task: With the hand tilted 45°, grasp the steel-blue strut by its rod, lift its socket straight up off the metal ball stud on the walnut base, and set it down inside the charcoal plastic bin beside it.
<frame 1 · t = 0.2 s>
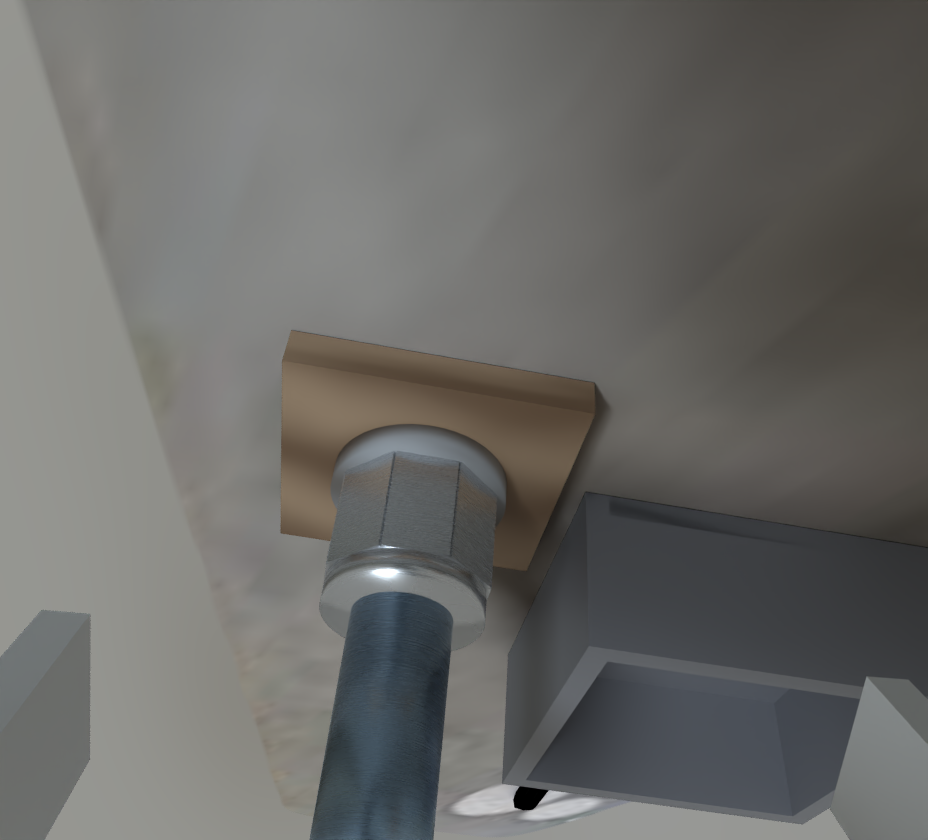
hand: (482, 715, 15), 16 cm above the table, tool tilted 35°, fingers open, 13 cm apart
bin: (698, 609, 43), on the table
pen: (540, 762, 62), on the table
strut: (417, 500, 33), point 2 cm above the table, touching stud base
stud base: (424, 450, 35), on the table
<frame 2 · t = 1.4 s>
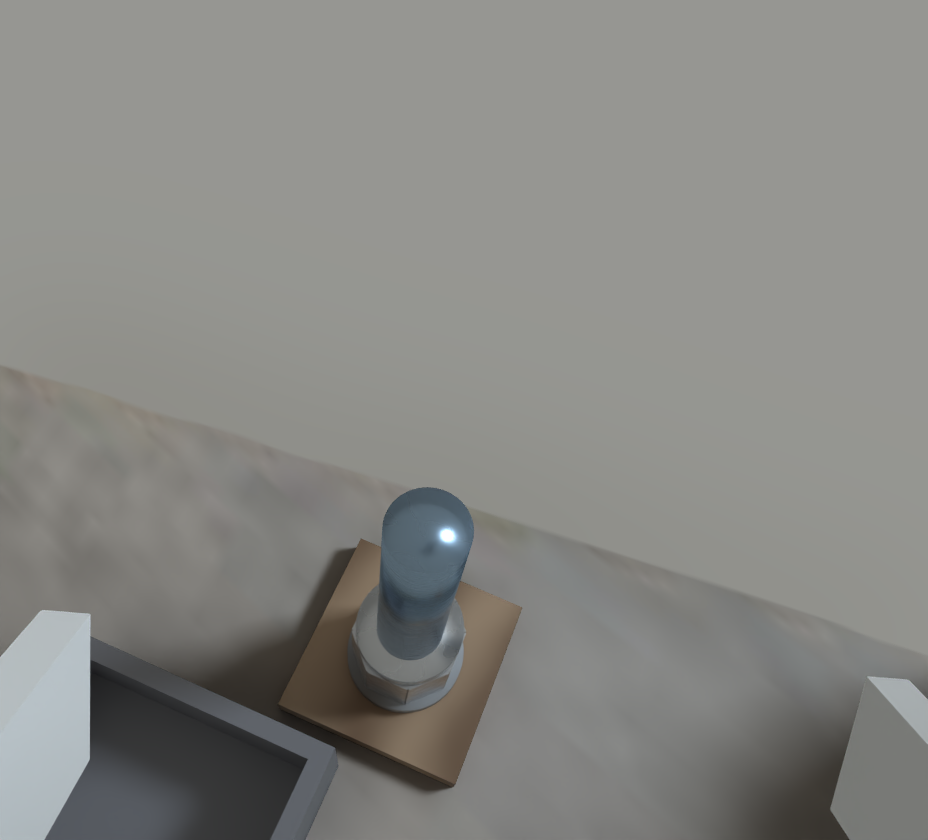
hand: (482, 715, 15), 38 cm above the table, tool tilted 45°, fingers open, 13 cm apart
strut: (406, 649, 50), point 2 cm above the table, touching stud base
stud base: (404, 659, 53), on the table
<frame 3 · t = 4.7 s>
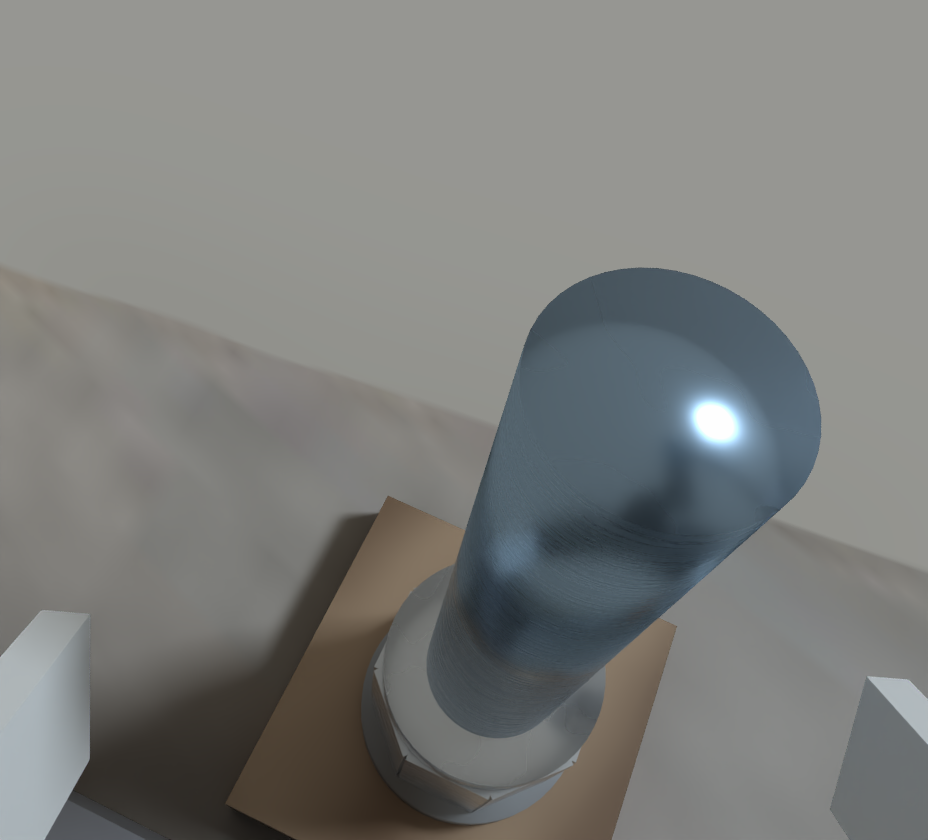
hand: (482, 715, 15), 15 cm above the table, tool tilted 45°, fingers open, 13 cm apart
strut: (472, 702, 27), point 2 cm above the table, touching stud base
stud base: (462, 716, 29), on the table
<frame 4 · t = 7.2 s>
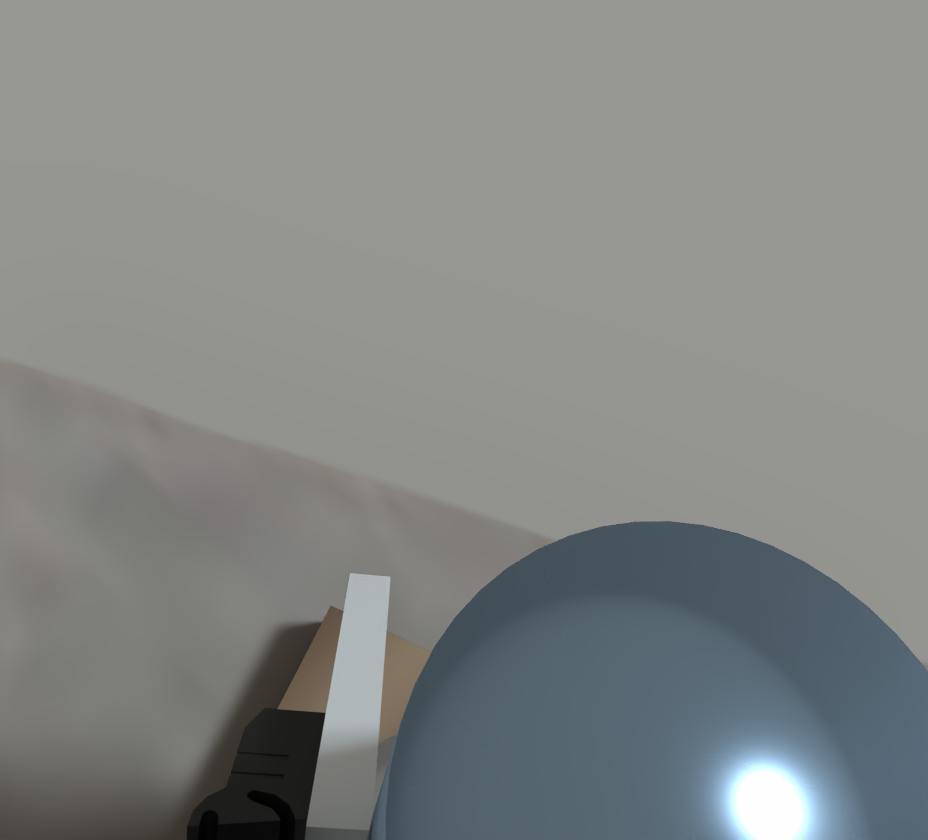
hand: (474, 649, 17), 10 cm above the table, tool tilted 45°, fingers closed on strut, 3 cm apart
when the fingers open (11 cm above the table, at t = 13.4 s): strut stays where it is, point 3 cm above the table.
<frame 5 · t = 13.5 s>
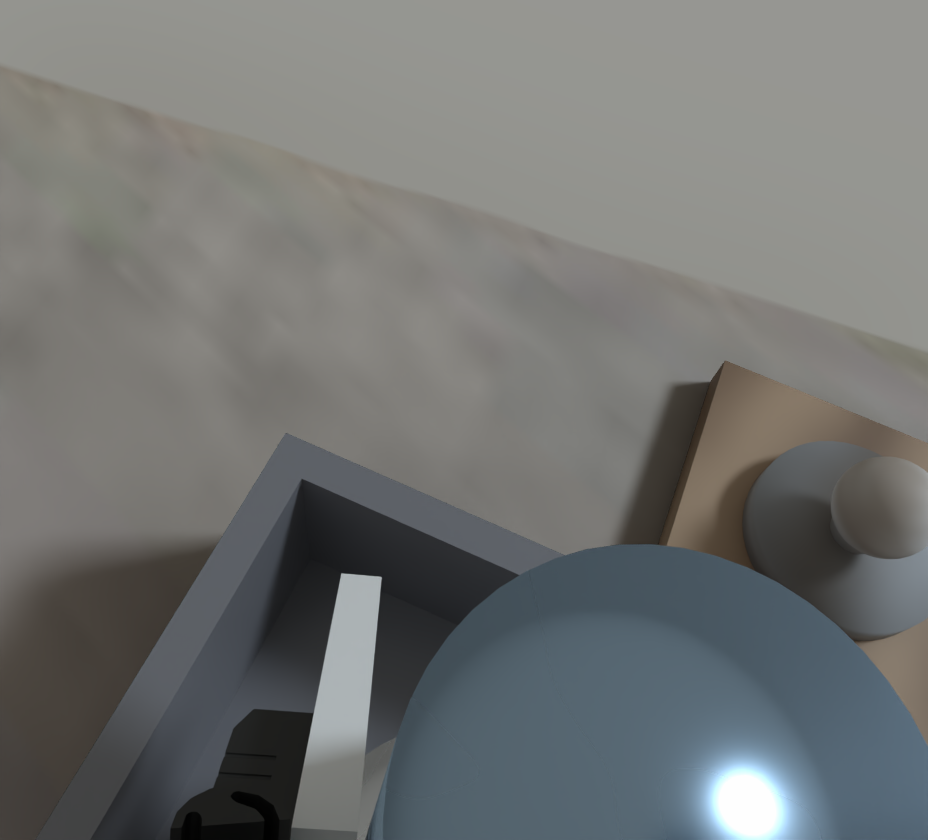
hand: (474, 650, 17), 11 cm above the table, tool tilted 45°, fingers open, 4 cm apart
stud base: (817, 557, 31), on the table
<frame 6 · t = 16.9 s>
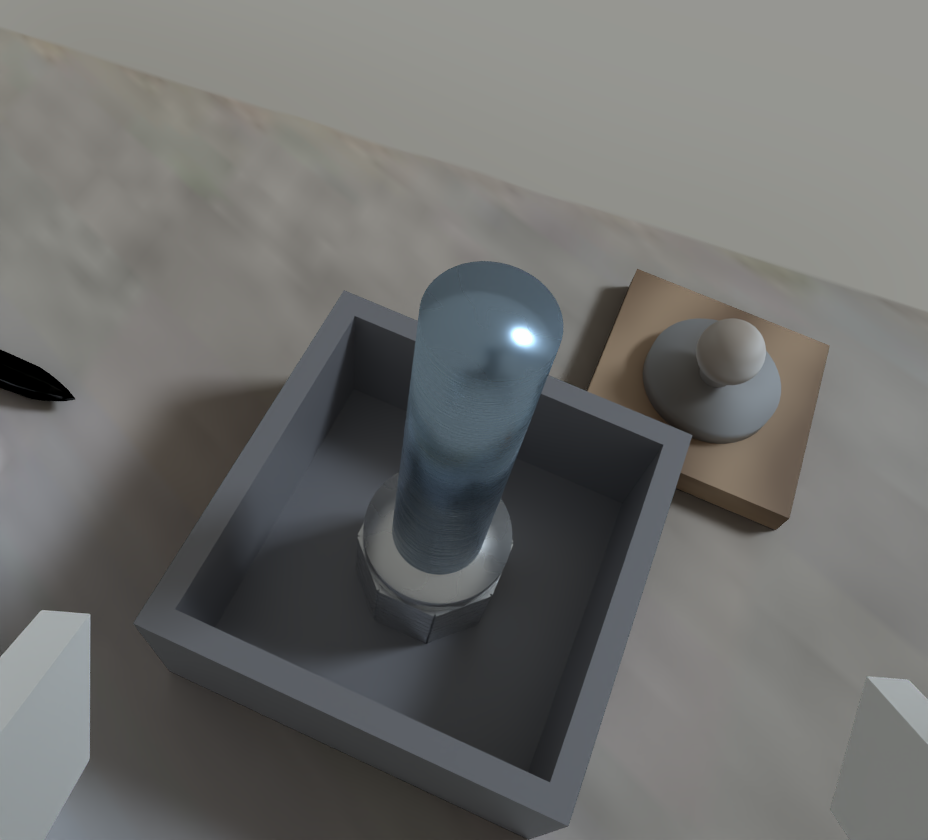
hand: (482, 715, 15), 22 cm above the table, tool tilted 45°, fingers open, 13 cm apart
bin: (425, 579, 39), on the table
strut: (427, 572, 38), point 1 cm above the table, touching bin
stud base: (697, 399, 45), on the table
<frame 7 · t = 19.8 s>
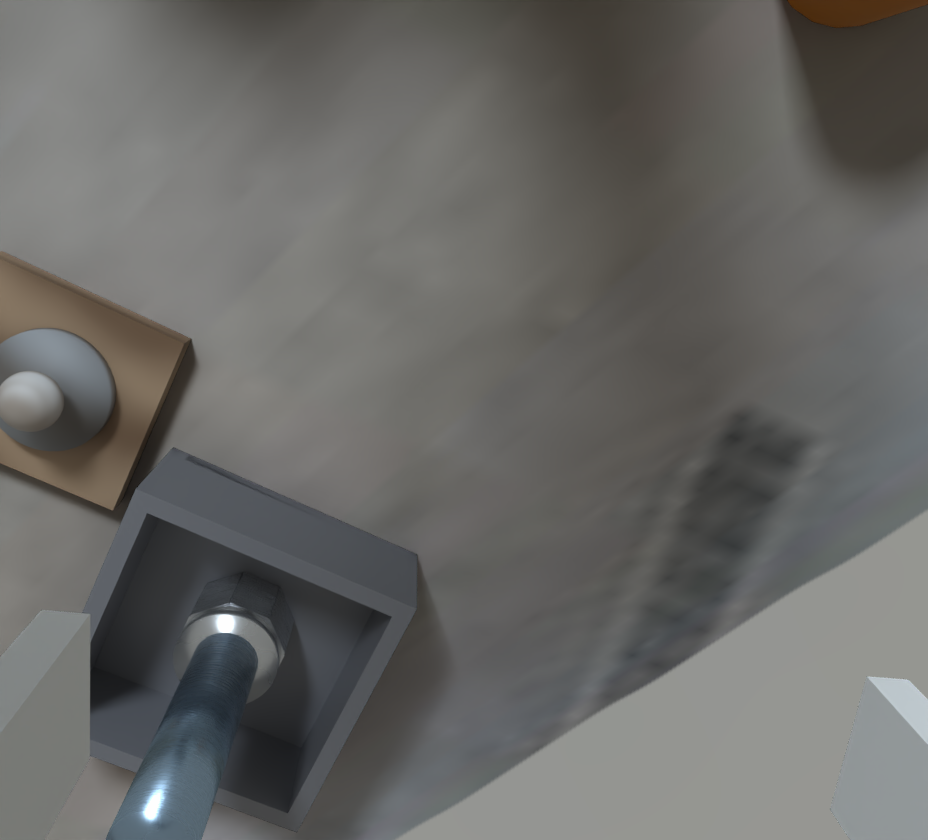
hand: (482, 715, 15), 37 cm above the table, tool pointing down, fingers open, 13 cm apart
bin: (246, 610, 54), on the table
strut: (243, 617, 53), point 1 cm above the table, touching bin
stud base: (64, 381, 49), on the table
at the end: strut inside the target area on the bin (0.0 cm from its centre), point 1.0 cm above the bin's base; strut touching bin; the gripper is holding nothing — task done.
